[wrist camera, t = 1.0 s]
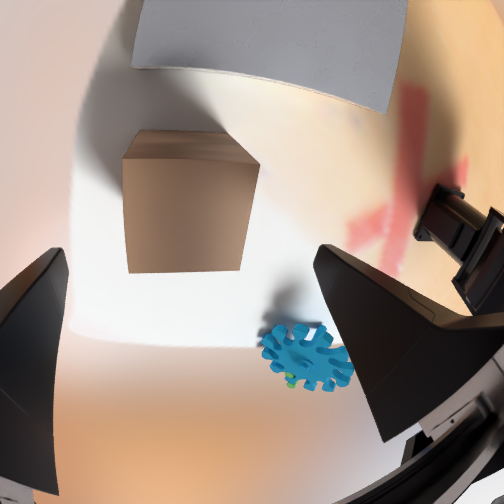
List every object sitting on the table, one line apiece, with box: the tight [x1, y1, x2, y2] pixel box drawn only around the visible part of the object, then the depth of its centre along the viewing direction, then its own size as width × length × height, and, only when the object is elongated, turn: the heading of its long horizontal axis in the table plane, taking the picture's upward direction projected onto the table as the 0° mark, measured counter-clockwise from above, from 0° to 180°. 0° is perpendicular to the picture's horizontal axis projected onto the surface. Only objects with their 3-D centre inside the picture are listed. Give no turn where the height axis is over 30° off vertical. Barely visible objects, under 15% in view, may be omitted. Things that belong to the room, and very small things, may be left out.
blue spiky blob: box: [261, 323, 354, 392], centre depth 27 cm, size 11×6×10 cm
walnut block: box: [122, 130, 260, 273], centre depth 13 cm, size 5×5×6 cm
